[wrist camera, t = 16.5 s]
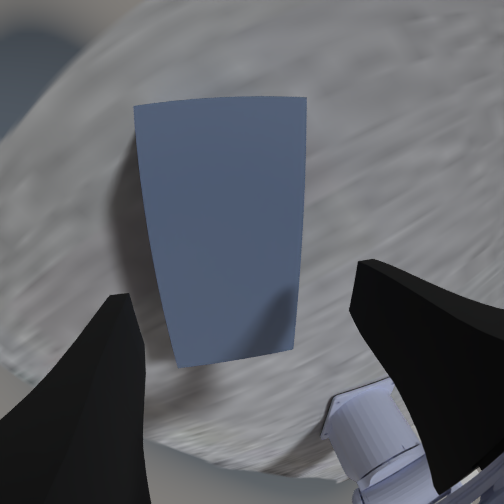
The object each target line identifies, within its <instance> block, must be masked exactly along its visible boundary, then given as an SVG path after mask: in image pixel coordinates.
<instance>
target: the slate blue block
mask: <svg viewBox="0 0 504 504" xmlns="http://www.w3.org/2000/svg"><path fill="white" fill-rule="evenodd" d="M306 111H307V97H276V96H251V97H219V98H203V99H190V100H179V101H169V102H160V103H152V104H145V105H138V106H134V121H135V133H136V144H137V154H138V163H139V172H140V180H141V188H142V195H143V203H144V209H145V216H146V223H147V229H148V235H149V241H150V246H151V252H152V257H153V263H154V268H155V273H156V278H157V283H158V288H159V293H160V297H161V302H162V306H163V311H164V315H165V319H166V324H167V328H168V332H169V336H170V340H171V344H172V348H173V352H174V355H175V359H176V363H177V366H178V368H184V367H192V366H199V365H207V364H214V363H220V362H227V361H233V360H239V359H245V358H251V357H256V356H262V355H267V354H272V353H277V352H282V351H287V350H292V349H293V346H294V336H295V325H296V314H297V302H298V290H299V277H300V263H301V248H302V231H303V212H304V190H305V162H306Z"/></svg>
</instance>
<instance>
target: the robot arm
mask: <svg viewBox="0 0 504 504" xmlns="http://www.w3.org/2000/svg"><path fill="white" fill-rule="evenodd" d="M349 312H350V314H351V316H352V318H353V320H354V322H355V324H356V326H357V328H358V330H359V332H360V334H361V335H362V337H363V338H364V340H365V341H366V343H367V344H368V346H369V347H370V349H371V350H372V352H373V353H374V355H375V356H376V357H377V359H378V360H379V362H380V363H381V365H382V366H383V368H384V369H385V371H386V372H387V373H388V375H389V376H390V377H389V378H387V379H384V380H381V381H378V382H376V383H373V384H370V385H367V386H364V387H361V388H358V389H355V390H352V391H349V392H346V393H343V394H340V395H337V396H335V397H334V398H333V399H332V403H331V406H330V409H329V412H328V415H327V418H326V421H325V424H324V427H323V430H322V433H321V436H320V438H321V440H324V439H327V438H329V440H330V442H331V444H332V446H333V448H334V451H335V453H336V455H337V457H338V459H339V461H340V463H341V466H342V468H343V470H344V472H345V474H346V475H347V476H348V477H349V478H350V479H351V480H353V481H355V482H356V483H357V485H358V487H359V488H357V489H355V490H354V494H353V496H352V503H353V504H434V503H436V502H437V501H439V500H440V499H442V498H443V497H445V496H446V495H447V497H446V498H444V499H443V500H441V501H440V502H438V503H436V504H471V503H472V502H473V501H475V500H476V499H477V498H478V497H479V496H481V498H480V502H479V503H478V504H504V309H500V308H496V307H492V306H489V305H485V304H482V303H479V302H476V301H473V300H471V299H468V298H465V297H462V296H460V295H457V294H455V293H452V292H450V291H448V290H445V289H443V288H440V287H438V286H436V285H434V284H431V283H429V282H427V281H425V280H423V279H420V278H418V277H416V276H414V275H412V274H409V273H407V272H405V271H403V270H401V269H398V268H396V267H394V266H391V265H389V264H386V263H384V262H381V261H378V260H375V259H370V260H363V261H358V265H357V271H356V276H355V282H354V287H353V293H352V298H351V303H350V308H349ZM145 377H146V368H145V347H144V341H143V338H142V335H141V332H140V329H139V326H138V322H137V319H136V316H135V312H134V309H133V305H132V302H131V298H130V295H129V293H125V294H117V295H110V296H109V297H108V298H107V299H106V301H105V302H104V303H103V305H102V306H101V307H100V309H99V310H98V311H97V313H96V314H95V315H94V317H93V318H92V319H91V321H90V322H89V323H88V325H87V326H86V327H85V329H84V330H83V331H82V333H81V334H80V335H79V337H78V338H77V339H76V341H75V342H74V343H73V344H72V345H71V347H70V348H69V349H68V350H67V352H66V353H65V354H64V355H63V357H62V358H61V359H60V360H59V362H58V363H57V364H56V365H55V366H54V367H53V369H52V370H51V371H50V372H49V373H48V374H47V375H46V377H45V378H44V379H43V380H42V381H41V382H40V383H39V384H38V385H37V386H36V387H35V388H34V389H33V390H32V391H31V392H30V393H29V394H28V395H27V396H26V397H25V398H24V399H23V400H22V401H21V402H19V403H18V404H17V405H16V406H15V407H14V408H13V409H12V410H11V411H10V412H9V413H8V414H7V415H5V416H4V417H3V418H2V419H1V420H0V504H151V500H150V494H149V488H148V482H147V476H146V468H145V460H144V451H143V414H144V394H145ZM394 386H396V387H397V389H398V391H399V393H400V395H401V397H402V399H403V401H404V403H405V405H406V407H407V409H408V411H409V413H410V415H411V418H412V420H413V422H414V425H415V427H416V430H417V432H418V435H419V437H420V440H421V442H420V441H419V439H418V438H417V436H416V435H415V433H414V431H413V430H412V428H411V427H410V425H409V424H408V422H407V421H406V419H405V417H404V416H403V414H402V413H401V411H400V410H399V408H398V407H397V405H396V404H395V402H394V401H393V399H392V398H391V396H390V394H391V392H392V390H393V388H394ZM479 467H480V468H481V470H482V471H481V472H480V473H479V474H477V475H476V476H475V477H473V478H472V479H471V480H469V481H468V482H467V483H465V484H464V485H462V483H461V480H463V479H464V478H465V477H467V476H468V475H469V474H471V473H472V472H473V471H475V470H476V469H477V468H479Z"/></svg>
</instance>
